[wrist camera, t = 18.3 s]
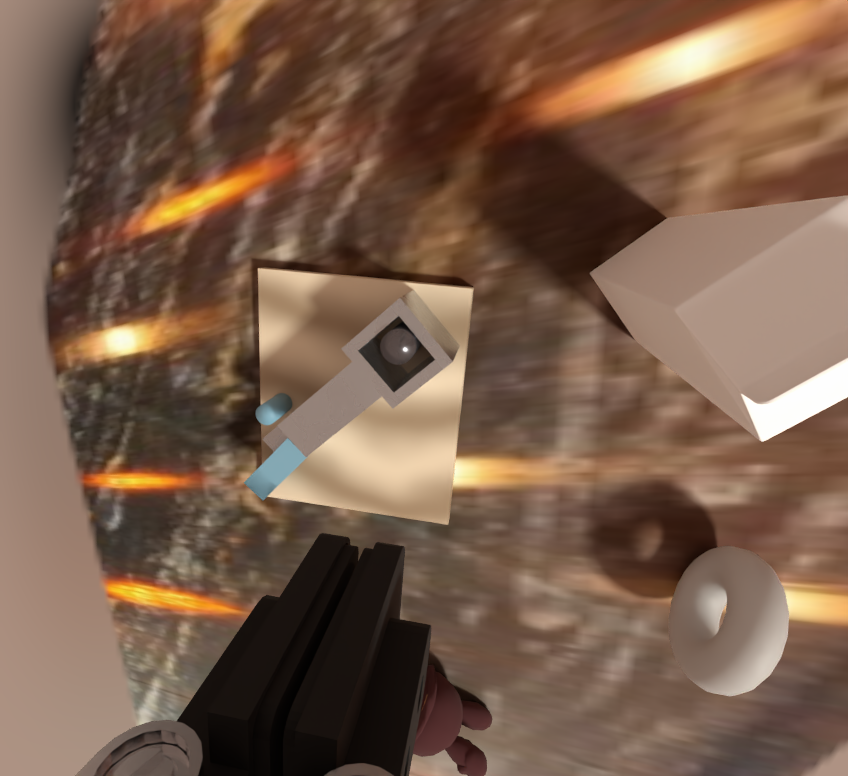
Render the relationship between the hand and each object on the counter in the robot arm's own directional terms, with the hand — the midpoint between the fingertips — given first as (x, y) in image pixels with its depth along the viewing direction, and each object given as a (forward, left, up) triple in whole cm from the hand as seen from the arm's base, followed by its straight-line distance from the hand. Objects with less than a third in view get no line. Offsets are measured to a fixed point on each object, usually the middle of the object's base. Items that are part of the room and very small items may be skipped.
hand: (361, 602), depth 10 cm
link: (+5, -8, -28) cm, 29 cm away
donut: (+17, +20, -29) cm, 39 cm away
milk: (-5, +12, -29) cm, 32 cm away
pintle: (0, -4, -28) cm, 28 cm away
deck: (+6, -8, -29) cm, 31 cm away
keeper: (+10, -14, -29) cm, 34 cm away
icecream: (+33, -1, -29) cm, 44 cm away
